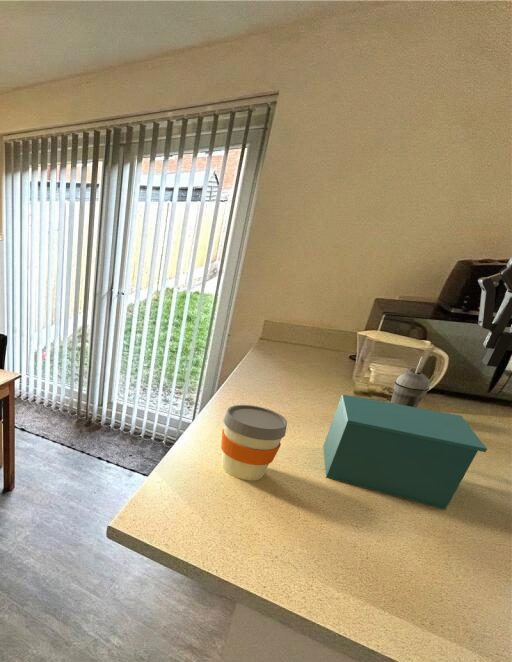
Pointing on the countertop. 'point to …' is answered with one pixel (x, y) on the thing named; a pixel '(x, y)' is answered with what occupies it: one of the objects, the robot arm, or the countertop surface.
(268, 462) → the reusable coffee cup
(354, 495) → the countertop surface
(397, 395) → the beverage cup
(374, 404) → the lid
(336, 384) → the countertop surface
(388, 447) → the lidded box
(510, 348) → the robot arm
